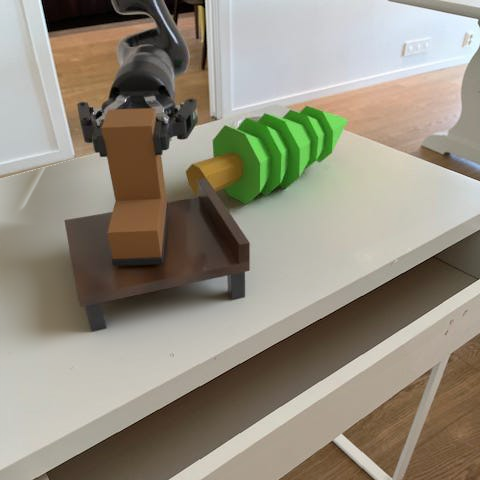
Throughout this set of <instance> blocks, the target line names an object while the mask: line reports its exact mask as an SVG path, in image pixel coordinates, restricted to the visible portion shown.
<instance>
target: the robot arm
mask: <svg viewBox="0 0 480 480" xmlns="http://www.w3.org/2000/svg"><path fill="white" fill-rule="evenodd" d="M110 1H111V5H112V6H113V8H114V11H115V12H116V13H118V14H119V15H123V16H126V15H127V16H129V15H146V16H148V17H150V19H152V21H153V22H154V25H155V26H154V27H152V28H147V29H144V30H142V31H141V30H140V31H138V32H135V33H132V34H128V35H126V36H124V37H123V38H121V39H120V40H119V42H118V44H117V47H116V55H117V61H118V64H119V68H118V70H117V72H116V74H115V77H114V79H113V82H112V85H111V87H110V90H109V94H108V99H107V100H105V101H103V102H102V104H101V106H100V107H94V105H90V104H89V103H88V102H86V101H80V102H78V103H77V104H76V106H77V112H78V117H79V123H80V127H81V131H82V136H83V141H84V143H86V144H91V143H92V146H93V151H94V152H95V154H96V153H98V154H99V157H100V158H107V153H106V148H105V143H104V138H103V134H102V129H101V127H102V125H103V122H104V119H105V117H106V114H107V112H108V110H116V109H144V108H155V110H156V120H157V122H155V127H154V133H153V142H154V150H155V155H161V156H163V153H164V151H167V150H169V149H170V142H172V138H174V137H176V139H177V140H180V141H181V140H186V139H188V138H189V136H190V135H191V134H192V132H193V130H194V129H195V127H196V125H197V124H198V122H199V117H198V114H199V113H198V103H197V102H198V101H197V99H196V98H192V97H189V98H187V99H185V101H184V102H183V101H182V102H180V103H179V104H176V102H175V97H176V92H175V89H176V88H175V87H176V85H175V78H176V77H180V76H182V75H184V74H185V73H186V71H187V70H188V68H189V65H190V59H191V58H190V56H191V55H190V50H189V46H188V43H187V42H186V40H185V38H184V35H183V34H182V32H181V31H180V29H179V28H178V25H177V24H176V21H175V20H174V19H173V17H172V15H171V13H170V11H169V9H168V7H167V5H166V2H165V0H110Z"/></svg>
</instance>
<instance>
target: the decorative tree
mask: <svg viewBox="0 0 480 480" xmlns="http://www.w3.org/2000/svg"><path fill="white" fill-rule="evenodd" d="M348 121H349V119H348V118H345V117H342V116H339V115H336V114H333V113H330V112H327V111H325V110H321V109H317V108H315V107H311V106H309V105H306V106H304V107H303V108H302V110H301V111H299V112H298V111H296V110H293V109H289V110H288V111H287V112H286V113H285V115H284V116H282V117H280V116H277V115H274V114H269V113H267V112H265V113H263V115H262V116H261V117H260V118H259V119H258V120H257V121H256V120H253V119H251V118H249V117H246V118H245V119H243V121H242V122H241V123H240V125H239V126H238V127H237V128H234V127H231V126H228V125H226V124H224V125H223V126H222V128H221V129H220V131H218V133H217V134H216V135H215V137H214V138H213V139H212V152H213V153H212V156H213V157H211V158H207V159H204V160H201V161H198V162H193V163H191V164H190V166H189V167H188V168H187V169H186V170H185V175H186V178H187V183H188V186H189V187H190V188H191V190H192V191H193V193H195V195H196V196H197V197H199V193H198V179H204V178H207V180H208V181H209V183H210V184H211V186H212V187H213V189H214V190H215V192H216V193H217V192H219V191H221V190H223V189H224V190H225V193H226V194H227V196H229V197H232V198H233V199H235V200H236V201H239V202H240V203H242V204H244V205H248V204H249V203H250V202H251V201H252V200H254V199H255V198H256V197H257V196H258V195H260V194H262V195H264V196H267V195H269V194H270V193H271V192H272V191H274V189H277V187H278V186H279V187H281V188H283V189H285V190H286V189H287V188H288V187H290V186H291V185H293V183H294V182H295V181H297V180H298V179H300V177H301V175H302V173H303V172H304V171H305V170H306V169H308V168H309V167H310V166H312V165H313V164H314V163H316V162H318V163H322V162H323V161H324V160H325V159H327V157H329V156H331V154H333V152H334V149H335V147H336V145H337V143H338V142H339V140H340V137H341V135H342V133H343V132H344V129H345V128H346V125H347V123H348Z"/></svg>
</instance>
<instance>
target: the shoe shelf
mask: <svg viewBox="0 0 480 480" xmlns="http://www.w3.org/2000/svg"><path fill="white" fill-rule="evenodd" d="M198 193H199V196H197V197H191V198H185V199H178V200H174V201H167V203H168V218H167V228H166V238H165V248H164V258H163V264H153V265H131V266H113V263H112V258H113V257H112V252H111V248H110V243H109V238H108V234H107V232H108V228H109V224H110V220H111V216H112V213H113V211H110V212H104V213H97V214H92V215H87V216H80V217H75V218H70V219H69V218H68V219H64V226H65V232H66V239H67V245H68V249H69V255H70V261H71V266H72V273H73V278H74V284H75V290H76V291H75V292H76V296H77V301H78V304H79V307H81V308H82V307H84V308H85V309H84V310H85V313H86V316H87V320H88V324H89V328H90V332H98V331H101V330H106V329H107V328H108V327H107V322H106V318H105V315H104V314H105V313H104V310H103V306H102V303H104V302H105V303H106V302H110V301H115V300H119V299H124V298H128V297H129V298H130V297H133V296H138V295H143V294H147V293H152V292H157V291H161V290H165V289H171V288H175V287H180V286H184V285H189V284H194V283H200V282H203V281H209V280H212V279H218V278H222V277H226V276H227V277H226V279H227V293H228V295H229V296H230V299H231V300H237V299H242V298H246V272H250V270H251V265H250V264H251V258H250V257H251V253H250V252H251V250H250V249H251V248H250V247H251V245H250V244H251V243H250V241H249V239H248V237H247V236H246V234H244V232H243V230H242V229H241V228H240V226H239V224H238V222H236V219H234V217H233V216H232V214H231V212H230V211H229V209H228V208H227V206H226V204H224V202H223V201H222V199H221V198H220V196H219V195H218V193H217V192H215V190H214V189H213V187H212V186H211V184H210V183H209V181H208V180H207V178H204V179H198Z"/></svg>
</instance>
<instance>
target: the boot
mask: <svg viewBox="0 0 480 480" xmlns="http://www.w3.org/2000/svg"><path fill="white" fill-rule="evenodd" d="M155 122H157V120H156V110H155V108H144V109H116V110H108V112H107V114H106V117H105V119H104V122H103V125H102V127H101V129H102V134H103V138H104V143H105V148H106V153H107V157H106V160H107V164H108V169H109V174H110V180H111V184H112V185H111V186H112V190H113V195H114V199H115V202H114V205H113V208H112V212H113V213H112V216H111V220H110V224H109V228H108V232H107V234H108V238H109V243H110V248H111V252H112V257H113V258H112V263H113V266H131V265H153V264H163V258H164V248H165V238H166V228H167V218H168V203H167V202H168V201H167V200H168V199H167V193H166V185H165V184H166V183H165V176H164V167H163V160H162V155H155V150H154V142H153V133H154V127H155Z"/></svg>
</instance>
